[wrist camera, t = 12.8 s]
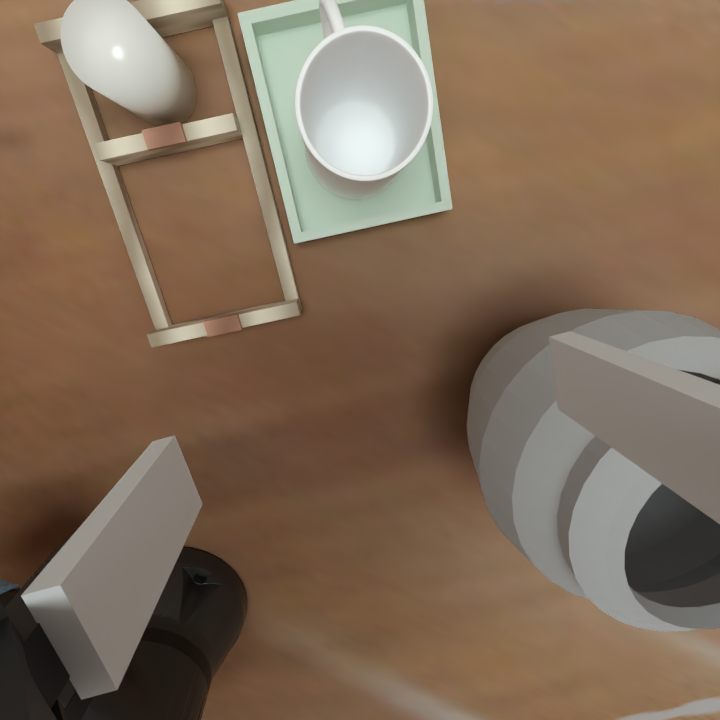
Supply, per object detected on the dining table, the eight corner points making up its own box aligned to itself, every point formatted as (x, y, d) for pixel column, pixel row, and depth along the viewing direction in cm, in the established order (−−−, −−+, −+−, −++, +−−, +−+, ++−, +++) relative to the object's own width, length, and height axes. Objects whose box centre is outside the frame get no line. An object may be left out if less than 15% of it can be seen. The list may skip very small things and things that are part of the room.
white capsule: (141, 134, 36) (81, 103, 28) (117, 59, 35) (45, 1, 26) (205, 119, 36) (165, 84, 27) (184, 44, 35) (135, -19, 26)
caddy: (164, 340, 41) (149, 349, 38) (59, 41, 34) (29, 21, 31) (302, 310, 41) (299, 317, 38) (225, 4, 34) (214, -20, 31)
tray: (297, 242, 39) (294, 243, 36) (245, 31, 34) (237, 13, 32) (443, 210, 39) (452, 209, 36) (412, -6, 34) (420, -28, 32)
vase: (639, 414, 46) (949, 600, 23) (472, 491, 48) (603, 738, 24) (584, 245, 41) (918, 264, 18) (398, 337, 42) (476, 467, 19)
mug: (282, 55, 34) (256, -33, 23) (387, 31, 34) (414, -70, 23) (317, 209, 38) (310, 199, 26) (413, 187, 38) (448, 168, 26)
